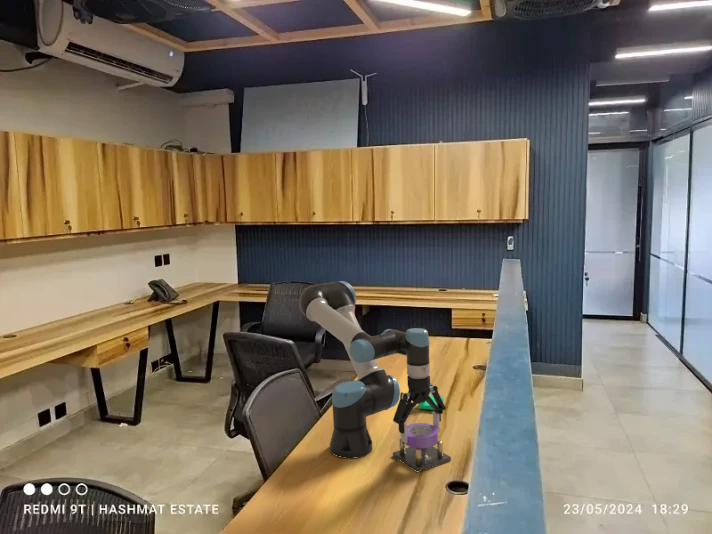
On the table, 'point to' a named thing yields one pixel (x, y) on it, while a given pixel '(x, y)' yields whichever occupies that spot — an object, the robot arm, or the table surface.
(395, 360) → the table surface
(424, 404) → the camera mount
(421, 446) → the masking tape
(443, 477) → the table surface
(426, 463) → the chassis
